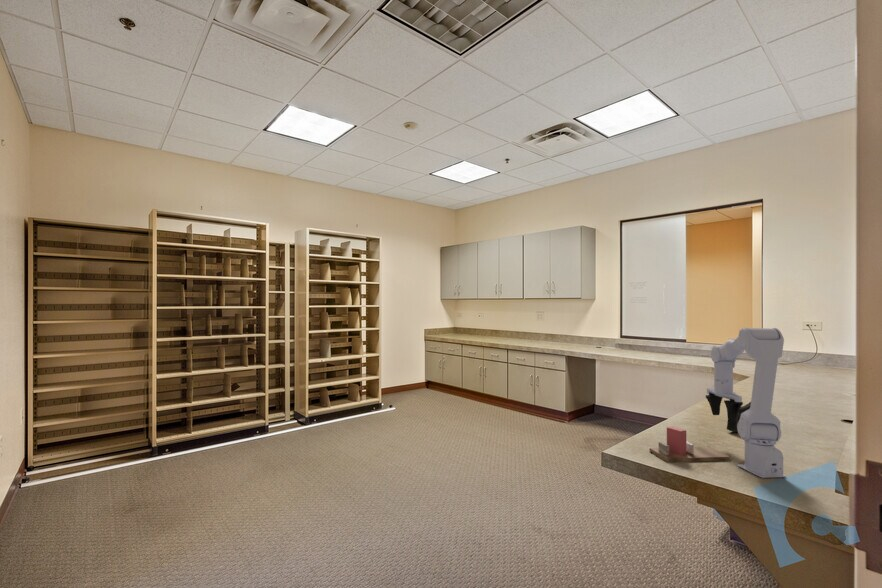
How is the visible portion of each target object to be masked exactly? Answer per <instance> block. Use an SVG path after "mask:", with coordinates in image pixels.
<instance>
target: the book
mask: <svg viewBox="0 0 882 588" xmlns="http://www.w3.org/2000/svg"><path fill="white" fill-rule="evenodd" d="M686 441H687V429H684V428H680V427H676V426H673V425H672V426H668V427H667V426H666V444H667V445H669V452H671V453H674V454H677V455H680V456H681V455H686Z"/></svg>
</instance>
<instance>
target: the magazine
mask: <svg viewBox="0 0 882 588" xmlns="http://www.w3.org/2000/svg"><path fill="white" fill-rule="evenodd" d="M750 406H751V401H749V402H748V403H747V404H745V405H742V406H741V407H740V409H739V411H738V413H737V416H736V419H735V421H729V420H728V419H727V423H726V424H727V425H726V430H727V431H729V432H735V433H736V432H738V430H737V424H738V422H739V420H740V416H741V413H743V412H745V411H747V410H748V409H750Z"/></svg>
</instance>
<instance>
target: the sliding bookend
mask: <svg viewBox="0 0 882 588" xmlns="http://www.w3.org/2000/svg"><path fill="white" fill-rule="evenodd" d="M694 447H695V446H694V443H691V442H689V441H687V440H686V452H688V453H690V454H694Z"/></svg>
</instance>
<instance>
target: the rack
mask: <svg viewBox="0 0 882 588" xmlns="http://www.w3.org/2000/svg"><path fill="white" fill-rule="evenodd" d="M651 452H652V453H651ZM649 453H651V454H653V455H655V456H656V455H657V456H656V457H658V458H659V459H661V460H663V461H665V462H667V463H681V462H682V463H684V462H685V463H687V462H691V463H692V462H715V461H716V462H719V461H721V462H722V461H723V462H725V461H731V460H732V459H731V457H732V456H730V455H728V454H725V453H723V452H721V451H719V450H717V449H715V448H713V447H710V446H694V454H690V453H688V452H686V455H681V456H680V455H677V454H674V453H671V452H669V445H667V443H664V442H663V441H658V447H650V448H649Z"/></svg>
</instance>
